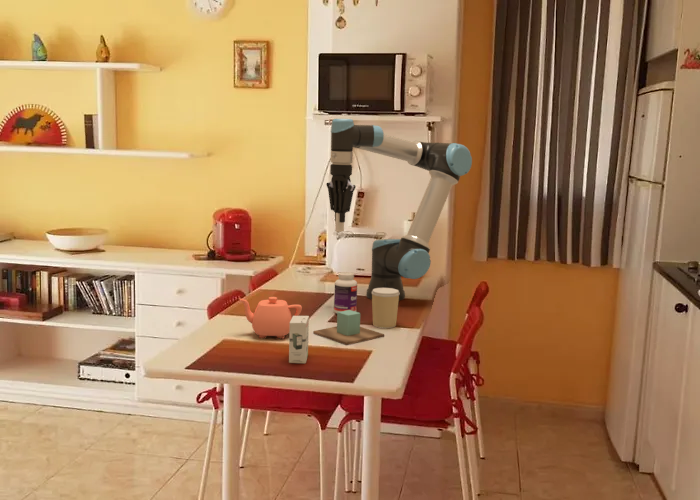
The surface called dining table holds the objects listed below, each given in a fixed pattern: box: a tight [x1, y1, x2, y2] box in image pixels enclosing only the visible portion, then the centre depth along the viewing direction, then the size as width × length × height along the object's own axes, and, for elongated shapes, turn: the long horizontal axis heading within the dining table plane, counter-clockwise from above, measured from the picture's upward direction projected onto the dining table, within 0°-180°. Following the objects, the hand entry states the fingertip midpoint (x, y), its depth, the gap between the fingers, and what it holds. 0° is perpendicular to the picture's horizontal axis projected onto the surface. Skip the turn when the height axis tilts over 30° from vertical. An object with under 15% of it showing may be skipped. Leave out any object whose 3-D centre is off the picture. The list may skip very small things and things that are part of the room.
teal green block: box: [336, 310, 361, 336], centre depth 241 cm, size 5×5×7 cm
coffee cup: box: [371, 288, 400, 329], centre depth 254 cm, size 9×9×12 cm
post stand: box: [312, 325, 385, 346], centre depth 241 cm, size 16×16×6 cm
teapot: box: [238, 296, 303, 340], centre depth 238 cm, size 13×20×12 cm, turn 91°
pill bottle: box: [333, 271, 358, 314], centre depth 268 cm, size 8×8×14 cm
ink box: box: [288, 315, 310, 364], centre depth 215 cm, size 9×5×12 cm, turn 178°
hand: (339, 231), depth 265 cm, fingers closed
